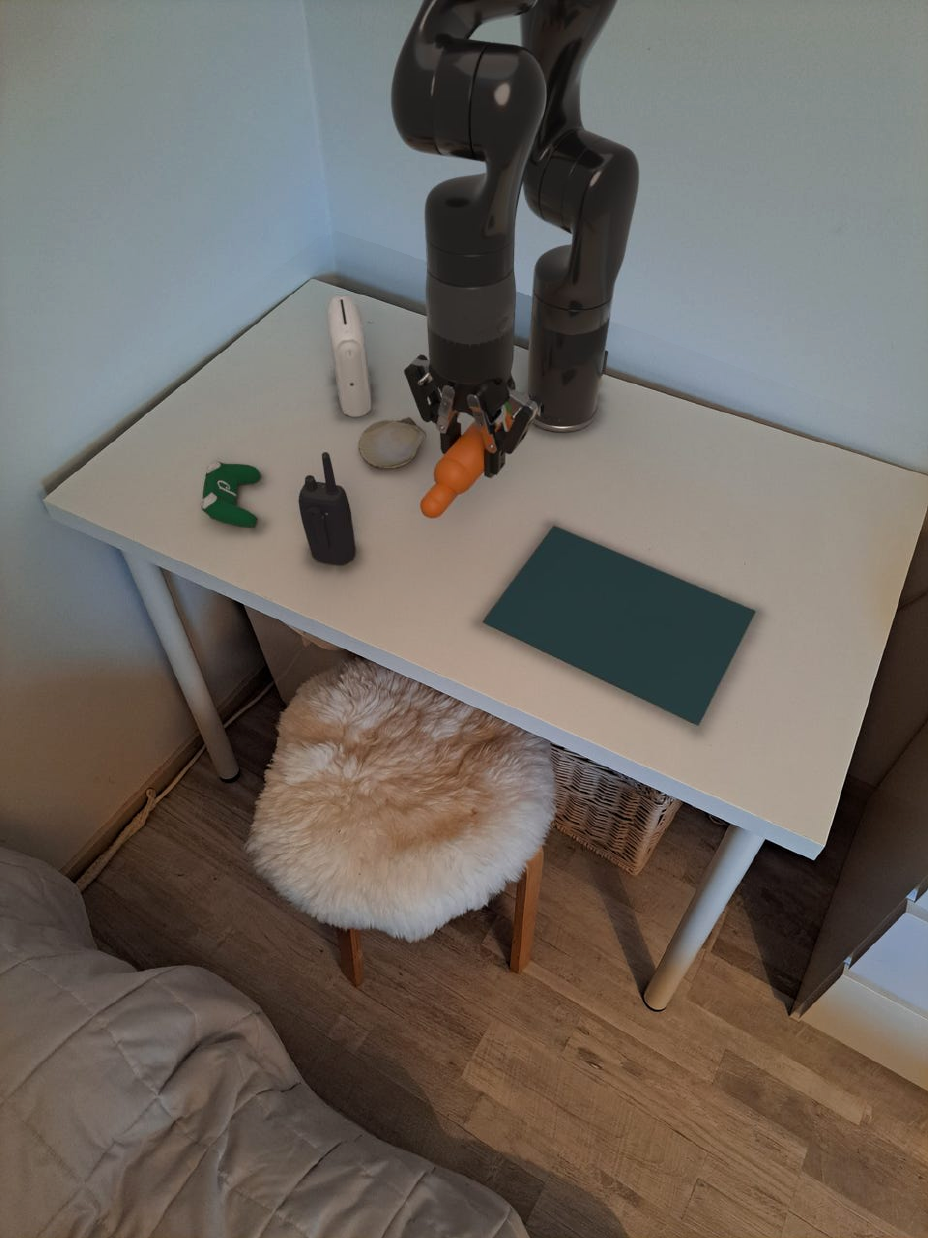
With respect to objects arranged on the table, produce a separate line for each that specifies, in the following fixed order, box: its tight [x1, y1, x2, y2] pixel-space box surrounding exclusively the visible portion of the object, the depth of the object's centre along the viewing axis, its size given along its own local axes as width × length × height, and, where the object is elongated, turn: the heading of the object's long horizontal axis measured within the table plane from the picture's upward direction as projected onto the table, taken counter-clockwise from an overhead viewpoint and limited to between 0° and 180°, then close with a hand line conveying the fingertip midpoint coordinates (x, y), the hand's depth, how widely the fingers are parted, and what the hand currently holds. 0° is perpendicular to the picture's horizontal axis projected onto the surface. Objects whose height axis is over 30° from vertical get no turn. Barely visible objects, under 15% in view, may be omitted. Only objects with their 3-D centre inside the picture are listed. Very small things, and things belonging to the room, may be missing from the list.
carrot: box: [419, 402, 514, 519], centre depth 83 cm, size 17×4×4 cm, turn 148°
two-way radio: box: [298, 451, 357, 566], centre depth 87 cm, size 6×4×15 cm
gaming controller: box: [201, 459, 262, 528], centre depth 97 cm, size 9×4×6 cm
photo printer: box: [326, 295, 372, 418], centre depth 106 cm, size 10×4×12 cm, turn 10°
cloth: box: [482, 525, 757, 726], centre depth 88 cm, size 16×24×1 cm, turn 58°
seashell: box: [358, 416, 427, 470], centre depth 103 cm, size 8×3×8 cm
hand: (472, 463), depth 84 cm, fingers closed on carrot, 4 cm apart
